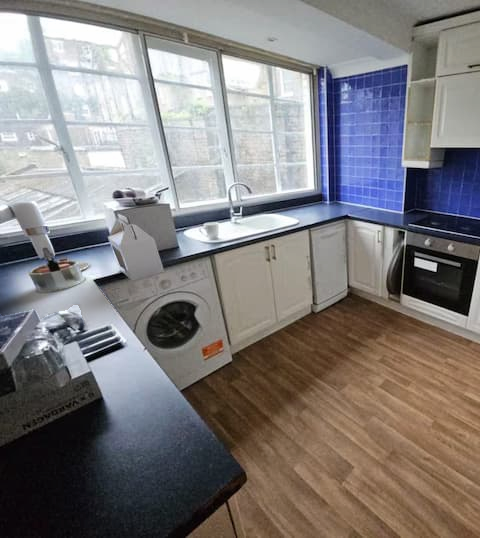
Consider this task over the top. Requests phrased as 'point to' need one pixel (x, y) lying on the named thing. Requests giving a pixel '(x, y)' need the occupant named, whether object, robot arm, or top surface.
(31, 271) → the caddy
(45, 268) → the red rod
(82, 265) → the caddy lid
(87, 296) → the top surface
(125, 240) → the gable box
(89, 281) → the top surface
